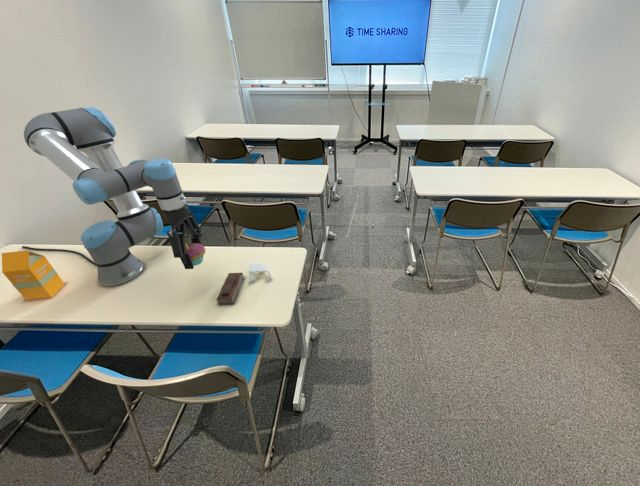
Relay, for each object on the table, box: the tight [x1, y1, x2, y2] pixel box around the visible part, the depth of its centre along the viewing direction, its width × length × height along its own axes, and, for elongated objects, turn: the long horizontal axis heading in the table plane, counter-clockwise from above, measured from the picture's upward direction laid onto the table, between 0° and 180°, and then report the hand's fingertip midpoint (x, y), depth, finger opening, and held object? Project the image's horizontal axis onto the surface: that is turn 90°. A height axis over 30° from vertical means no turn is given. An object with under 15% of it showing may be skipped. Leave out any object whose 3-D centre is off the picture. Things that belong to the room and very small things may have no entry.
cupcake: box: [185, 242, 206, 267], centre depth 105 cm, size 9×8×12 cm
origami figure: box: [247, 263, 273, 283], centre depth 120 cm, size 12×8×5 cm
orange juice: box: [1, 250, 65, 301], centre depth 110 cm, size 8×9×20 cm
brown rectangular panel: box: [216, 272, 245, 306], centre depth 114 cm, size 14×6×4 cm, turn 3°
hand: (195, 260), depth 108 cm, fingers closed on cupcake, 9 cm apart
